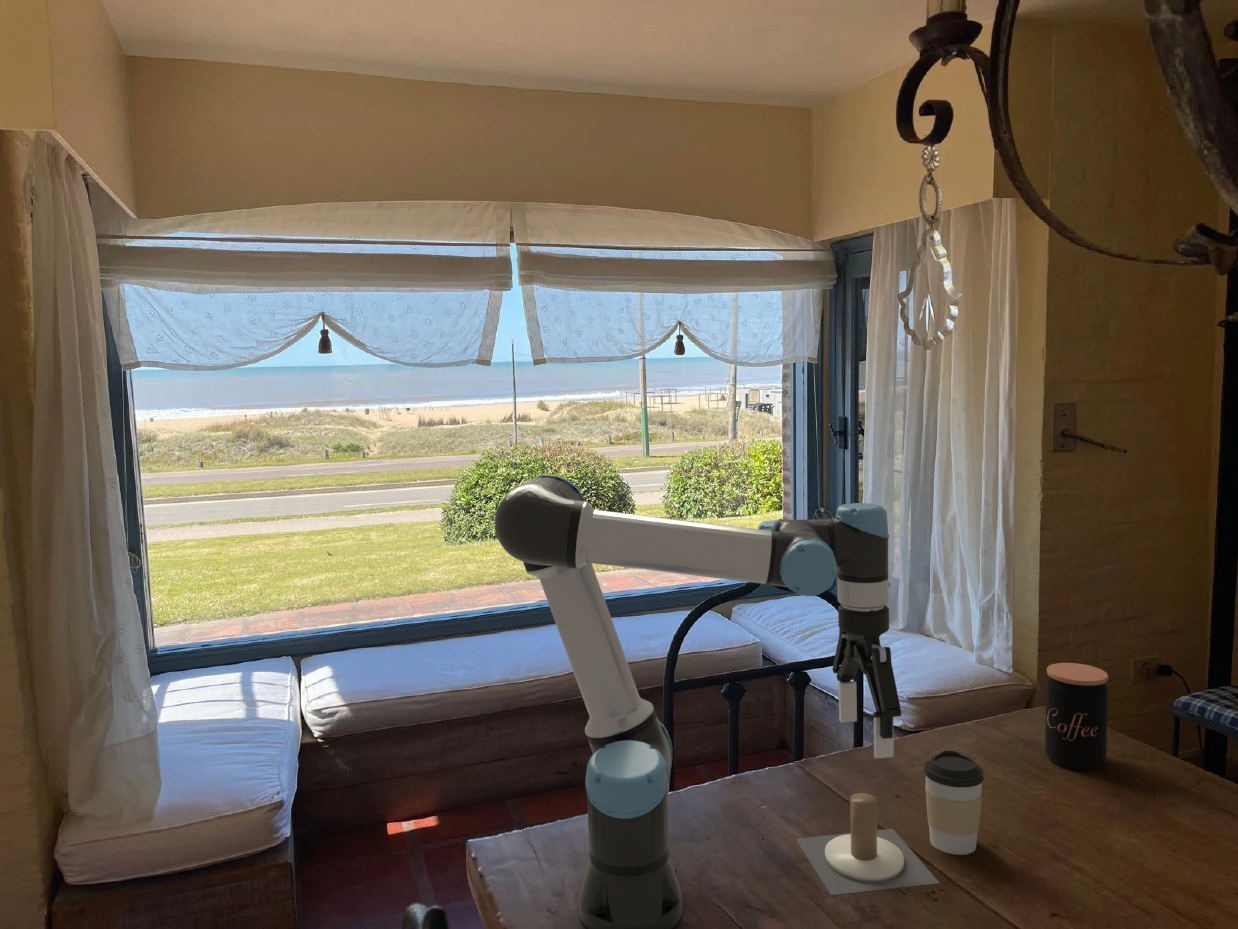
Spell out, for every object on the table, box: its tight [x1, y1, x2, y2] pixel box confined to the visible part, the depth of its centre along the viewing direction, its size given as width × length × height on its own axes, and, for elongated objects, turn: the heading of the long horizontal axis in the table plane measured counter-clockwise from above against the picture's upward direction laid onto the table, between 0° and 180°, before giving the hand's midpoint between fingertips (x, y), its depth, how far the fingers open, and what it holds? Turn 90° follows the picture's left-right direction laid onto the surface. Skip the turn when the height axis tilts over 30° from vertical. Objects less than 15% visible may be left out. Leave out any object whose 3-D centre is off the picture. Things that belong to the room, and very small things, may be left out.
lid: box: [825, 792, 904, 882], centre depth 138 cm, size 12×12×10 cm
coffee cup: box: [923, 750, 985, 856], centre depth 141 cm, size 9×9×15 cm
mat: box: [795, 828, 940, 896], centre depth 138 cm, size 17×16×1 cm
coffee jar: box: [1044, 662, 1109, 771], centre depth 171 cm, size 11×11×18 cm
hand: (865, 738), depth 136 cm, fingers open, 13 cm apart
